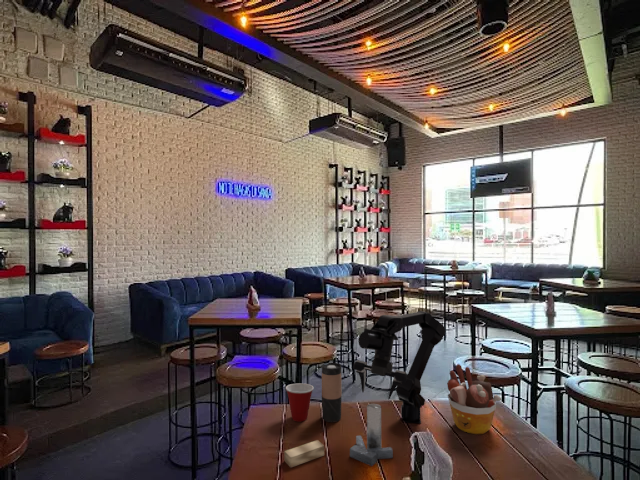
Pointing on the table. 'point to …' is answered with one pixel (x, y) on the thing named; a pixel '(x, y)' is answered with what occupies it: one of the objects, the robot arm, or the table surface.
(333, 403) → the travel mug
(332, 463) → the table surface
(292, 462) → the beam
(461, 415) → the bucket of meat
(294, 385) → the plastic cup
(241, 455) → the table surface
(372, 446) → the grey metallic cylinder
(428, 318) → the robot arm
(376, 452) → the grey flat branched piece
